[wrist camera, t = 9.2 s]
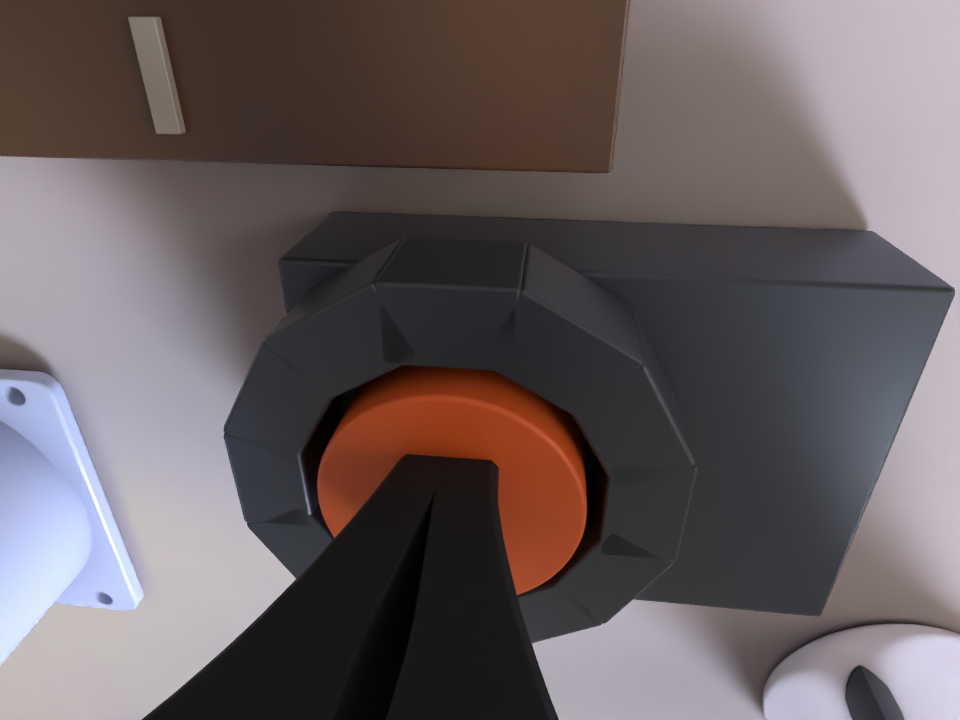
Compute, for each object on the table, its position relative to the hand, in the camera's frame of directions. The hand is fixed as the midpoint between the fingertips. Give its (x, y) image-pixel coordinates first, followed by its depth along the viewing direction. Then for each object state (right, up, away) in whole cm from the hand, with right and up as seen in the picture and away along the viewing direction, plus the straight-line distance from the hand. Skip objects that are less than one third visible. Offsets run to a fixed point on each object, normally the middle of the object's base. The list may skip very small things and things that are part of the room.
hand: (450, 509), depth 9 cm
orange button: (0, +1, +2) cm, 2 cm away
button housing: (+3, +2, +4) cm, 5 cm away
